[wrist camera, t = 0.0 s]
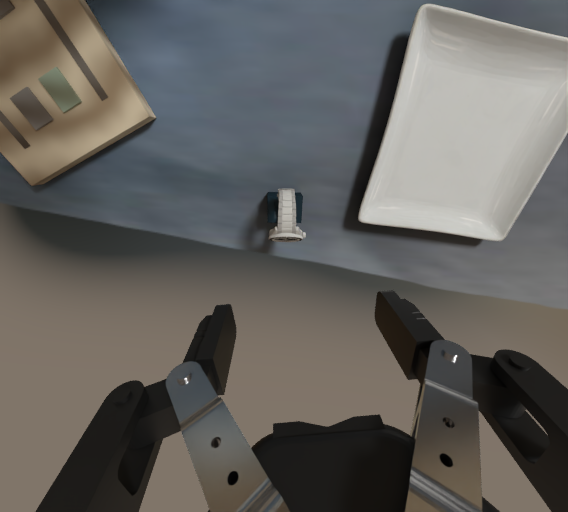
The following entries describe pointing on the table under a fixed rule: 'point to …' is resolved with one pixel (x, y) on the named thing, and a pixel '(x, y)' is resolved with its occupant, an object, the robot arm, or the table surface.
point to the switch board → (61, 88)
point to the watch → (285, 215)
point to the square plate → (468, 125)
